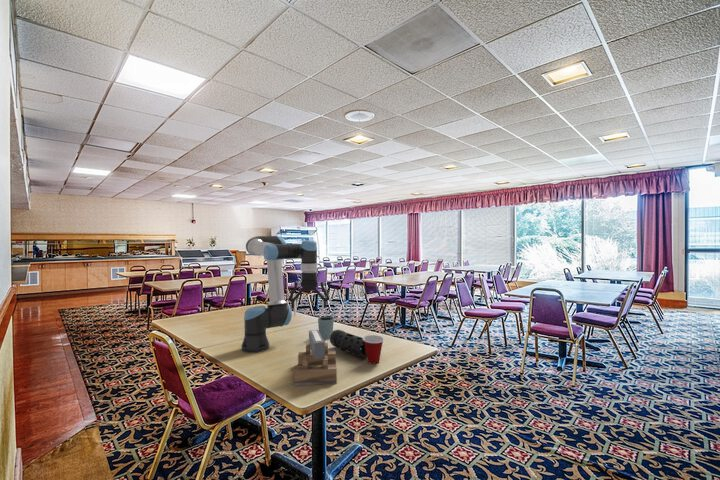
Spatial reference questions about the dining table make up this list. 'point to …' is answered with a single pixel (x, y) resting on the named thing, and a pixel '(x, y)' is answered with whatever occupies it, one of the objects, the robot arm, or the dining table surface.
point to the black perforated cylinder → (348, 343)
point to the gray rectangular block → (316, 344)
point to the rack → (315, 368)
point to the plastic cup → (373, 347)
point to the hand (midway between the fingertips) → (309, 314)
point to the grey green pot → (325, 326)
